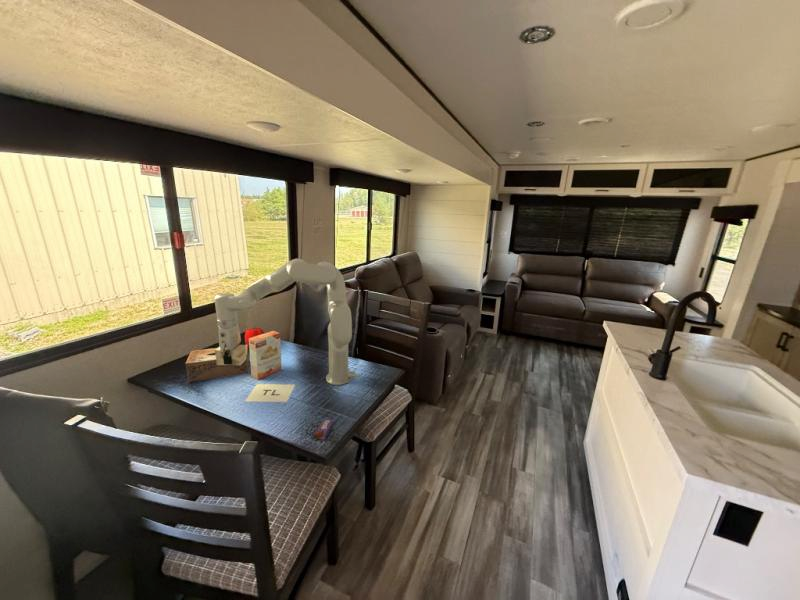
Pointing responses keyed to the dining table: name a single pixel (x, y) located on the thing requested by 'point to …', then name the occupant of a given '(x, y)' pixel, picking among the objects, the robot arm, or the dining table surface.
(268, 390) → the mat
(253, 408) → the dining table surface
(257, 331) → the tomato
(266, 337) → the cracker box
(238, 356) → the maple block
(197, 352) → the tissue box cover
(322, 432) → the snack package
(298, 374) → the dining table surface
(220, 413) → the dining table surface
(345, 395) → the dining table surface
